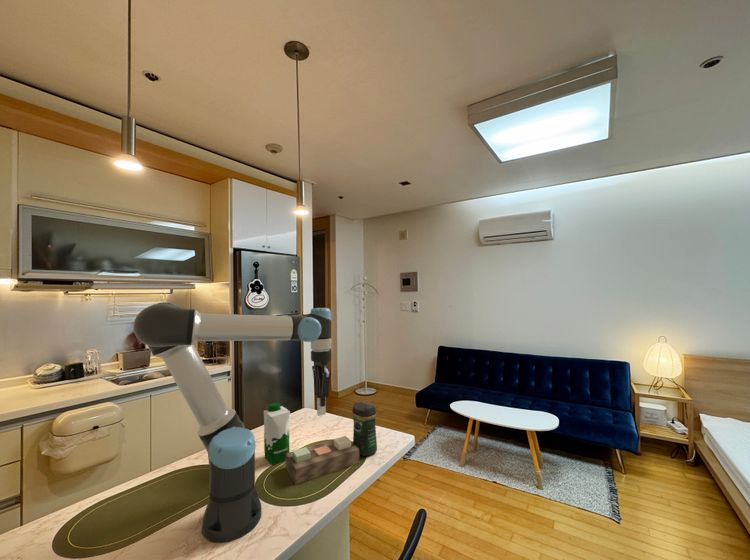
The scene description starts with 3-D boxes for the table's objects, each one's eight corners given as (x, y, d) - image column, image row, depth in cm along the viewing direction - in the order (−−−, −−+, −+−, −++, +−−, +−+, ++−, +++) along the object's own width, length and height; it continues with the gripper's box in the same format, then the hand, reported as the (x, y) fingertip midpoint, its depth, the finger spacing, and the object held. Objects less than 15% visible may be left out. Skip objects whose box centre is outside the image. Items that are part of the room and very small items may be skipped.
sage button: (296, 467, 108) (296, 456, 108) (292, 460, 112) (292, 450, 112) (310, 462, 111) (310, 452, 111) (306, 456, 115) (305, 446, 115)
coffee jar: (380, 451, 124) (379, 404, 125) (365, 459, 119) (364, 409, 120) (364, 443, 131) (364, 398, 132) (349, 450, 126) (349, 403, 127)
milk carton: (283, 450, 127) (282, 400, 128) (293, 459, 120) (292, 406, 121) (261, 457, 121) (261, 405, 122) (270, 467, 114) (270, 411, 115)
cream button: (339, 454, 116) (339, 444, 116) (333, 448, 121) (333, 439, 121) (351, 450, 119) (351, 440, 119) (345, 444, 123) (345, 435, 123)
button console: (295, 484, 104) (295, 468, 104) (285, 467, 114) (285, 453, 114) (359, 462, 117) (359, 449, 117) (345, 449, 127) (345, 436, 127)
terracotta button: (318, 464, 112) (318, 454, 112) (313, 458, 116) (313, 449, 116) (331, 460, 115) (331, 450, 115) (326, 454, 119) (326, 445, 119)
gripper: (337, 351, 113) (338, 417, 112) (323, 346, 124) (324, 406, 123) (318, 353, 109) (318, 422, 108) (305, 348, 120) (305, 410, 119)
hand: (321, 414), depth 116 cm, fingers closed
